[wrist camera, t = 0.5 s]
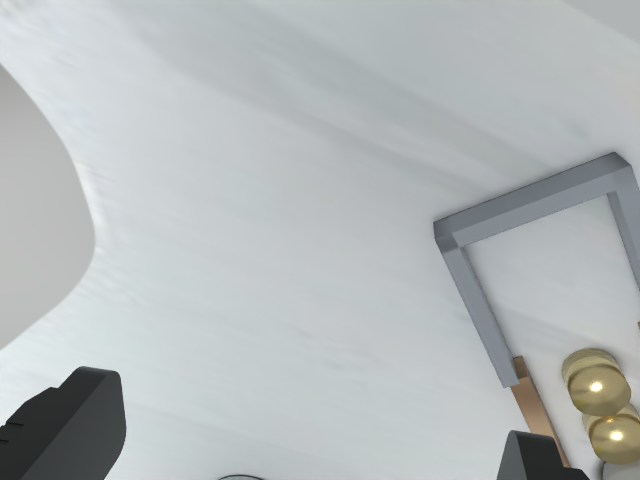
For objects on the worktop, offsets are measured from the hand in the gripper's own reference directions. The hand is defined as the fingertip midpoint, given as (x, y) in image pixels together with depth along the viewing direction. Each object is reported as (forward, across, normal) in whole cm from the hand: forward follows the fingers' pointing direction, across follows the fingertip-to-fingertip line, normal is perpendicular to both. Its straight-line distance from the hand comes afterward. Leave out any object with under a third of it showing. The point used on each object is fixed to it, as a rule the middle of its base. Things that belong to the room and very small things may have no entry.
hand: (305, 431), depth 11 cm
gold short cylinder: (+29, +20, -21) cm, 41 cm away
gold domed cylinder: (+29, +18, -17) cm, 38 cm away
